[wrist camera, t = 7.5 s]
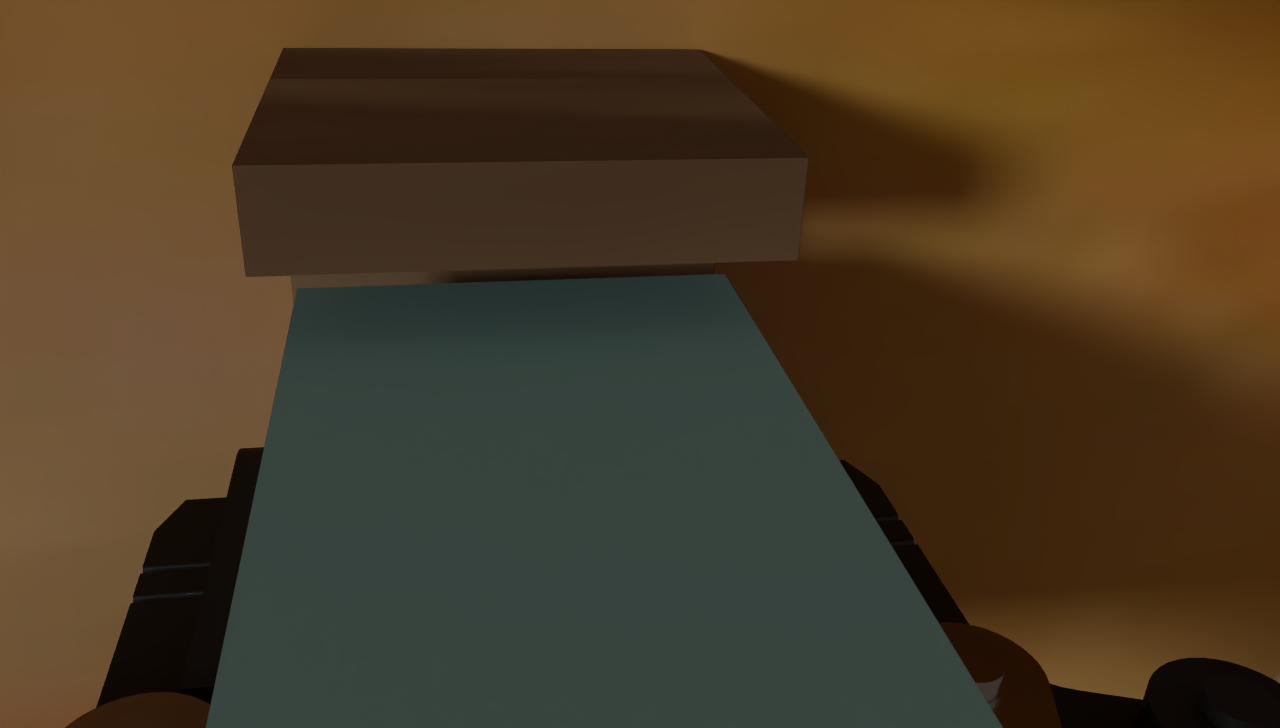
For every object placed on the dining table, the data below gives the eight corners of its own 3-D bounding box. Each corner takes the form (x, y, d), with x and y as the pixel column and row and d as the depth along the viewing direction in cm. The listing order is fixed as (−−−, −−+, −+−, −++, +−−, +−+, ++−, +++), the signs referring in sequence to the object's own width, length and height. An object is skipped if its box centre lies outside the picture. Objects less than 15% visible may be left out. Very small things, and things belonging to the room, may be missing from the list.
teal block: (297, 288, 12) (180, 858, 6) (725, 274, 13) (1023, 761, 6) (337, 670, 14) (283, 1362, 8) (695, 638, 15) (895, 1247, 9)
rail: (642, 947, 22) (693, 1204, 18) (375, 983, 21) (368, 1260, 17) (699, 49, 14) (808, 157, 10) (283, 47, 14) (231, 165, 10)
